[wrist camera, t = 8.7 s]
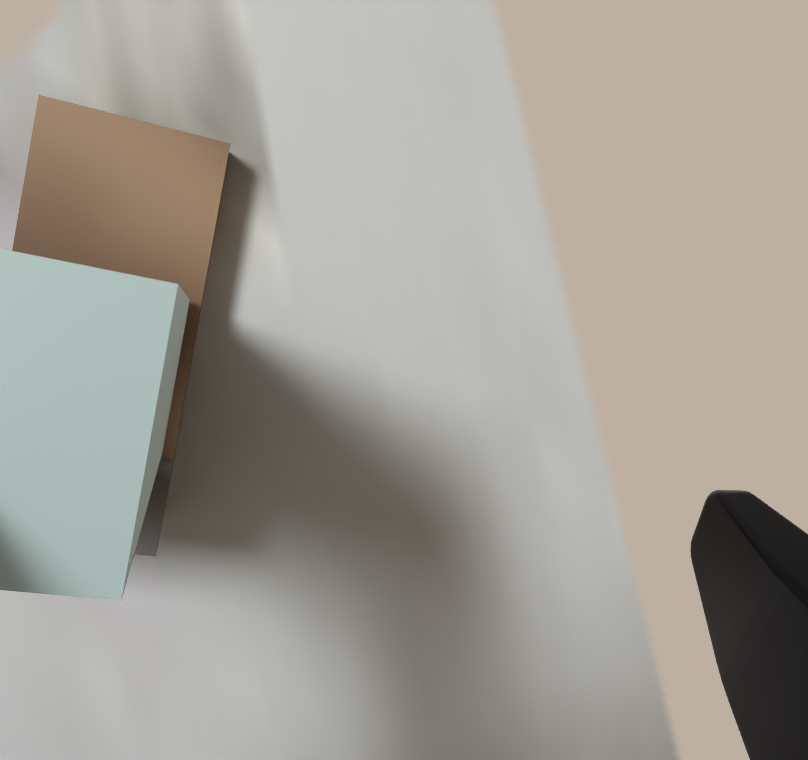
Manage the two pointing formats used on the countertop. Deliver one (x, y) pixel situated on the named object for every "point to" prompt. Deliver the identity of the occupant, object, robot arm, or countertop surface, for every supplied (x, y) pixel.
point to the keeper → (80, 419)
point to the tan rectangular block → (126, 221)
